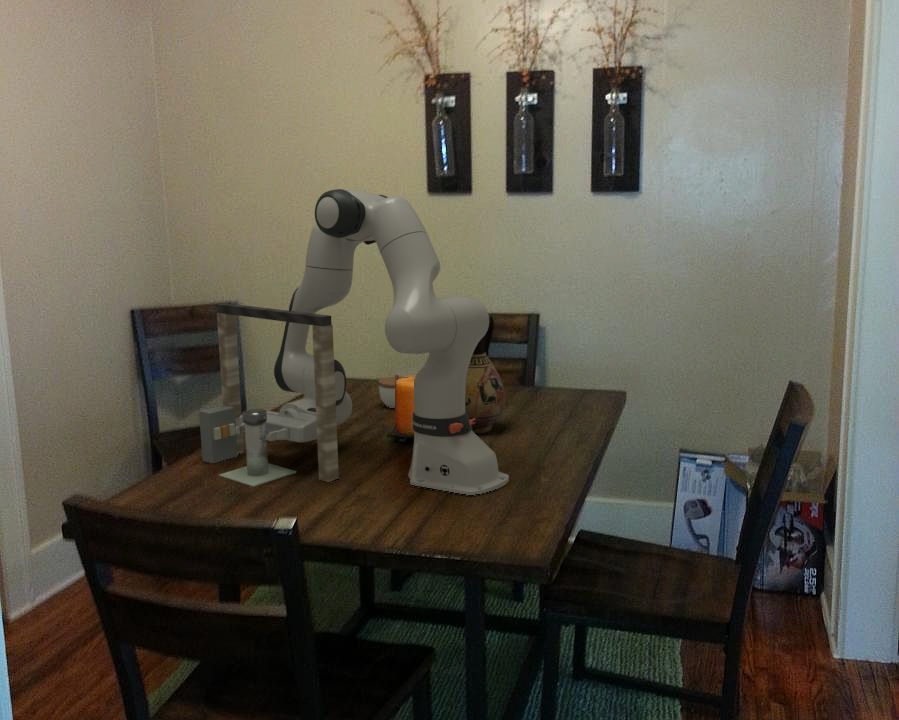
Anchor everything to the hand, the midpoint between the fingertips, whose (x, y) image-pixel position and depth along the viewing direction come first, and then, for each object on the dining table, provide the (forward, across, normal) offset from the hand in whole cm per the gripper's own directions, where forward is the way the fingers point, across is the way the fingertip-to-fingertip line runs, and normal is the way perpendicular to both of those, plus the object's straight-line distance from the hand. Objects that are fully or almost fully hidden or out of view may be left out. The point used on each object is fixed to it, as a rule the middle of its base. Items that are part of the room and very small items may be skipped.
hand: (252, 434), depth 195 cm
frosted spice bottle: (-1, 0, +9) cm, 9 cm away
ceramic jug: (-58, +21, +10) cm, 63 cm away
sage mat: (-1, 0, +10) cm, 10 cm away
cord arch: (-8, 0, +10) cm, 12 cm away
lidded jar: (-66, -11, +10) cm, 68 cm away
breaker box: (-4, -16, +10) cm, 19 cm away
